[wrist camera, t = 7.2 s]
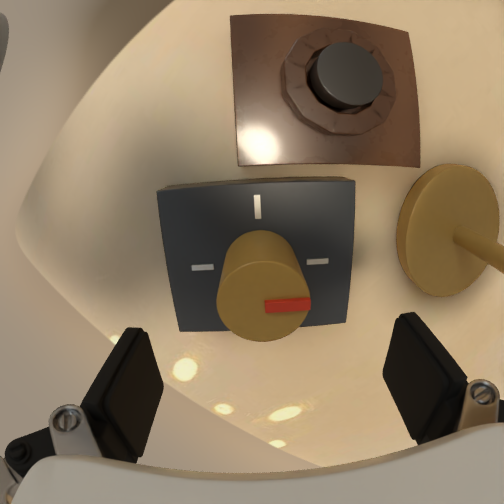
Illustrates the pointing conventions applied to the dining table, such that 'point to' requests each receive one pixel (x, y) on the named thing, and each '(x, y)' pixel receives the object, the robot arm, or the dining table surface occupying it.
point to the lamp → (449, 230)
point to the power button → (346, 76)
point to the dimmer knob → (262, 288)
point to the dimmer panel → (251, 219)
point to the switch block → (310, 104)
